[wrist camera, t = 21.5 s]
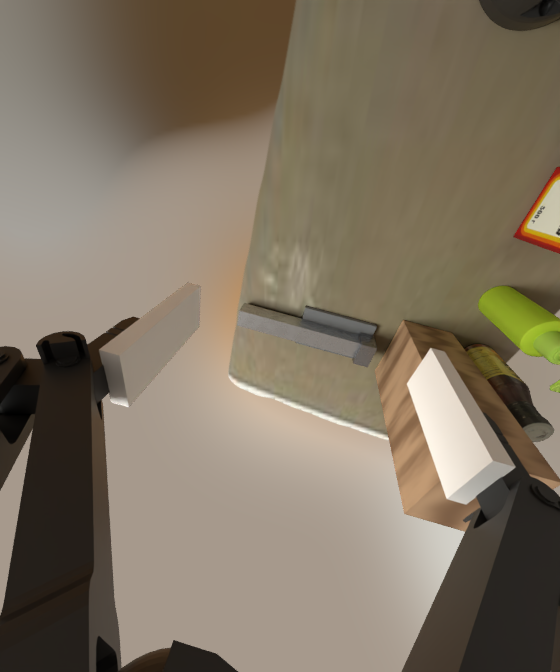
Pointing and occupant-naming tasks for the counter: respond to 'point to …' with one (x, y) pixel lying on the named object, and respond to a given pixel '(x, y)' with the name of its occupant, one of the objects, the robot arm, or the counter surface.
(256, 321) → the pin
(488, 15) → the robot arm
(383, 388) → the brown wooden block
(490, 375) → the sauce bottle
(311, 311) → the base plate
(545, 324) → the soap dispenser
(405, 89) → the counter surface
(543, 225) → the baking soda box
